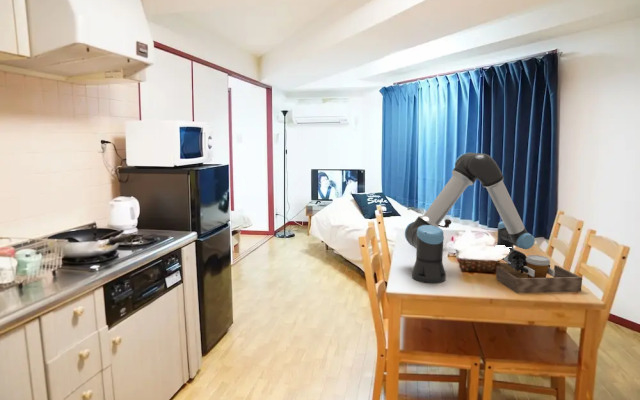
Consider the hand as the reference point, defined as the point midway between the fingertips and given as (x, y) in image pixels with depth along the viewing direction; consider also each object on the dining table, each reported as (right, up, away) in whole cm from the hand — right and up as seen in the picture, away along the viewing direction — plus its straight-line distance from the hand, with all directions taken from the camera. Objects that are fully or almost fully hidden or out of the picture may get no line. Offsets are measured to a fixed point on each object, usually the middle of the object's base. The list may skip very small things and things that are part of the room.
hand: (543, 273), depth 173 cm
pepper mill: (-28, +3, +66) cm, 71 cm away
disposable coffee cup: (0, -6, +6) cm, 8 cm away
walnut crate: (0, -6, +5) cm, 8 cm away
